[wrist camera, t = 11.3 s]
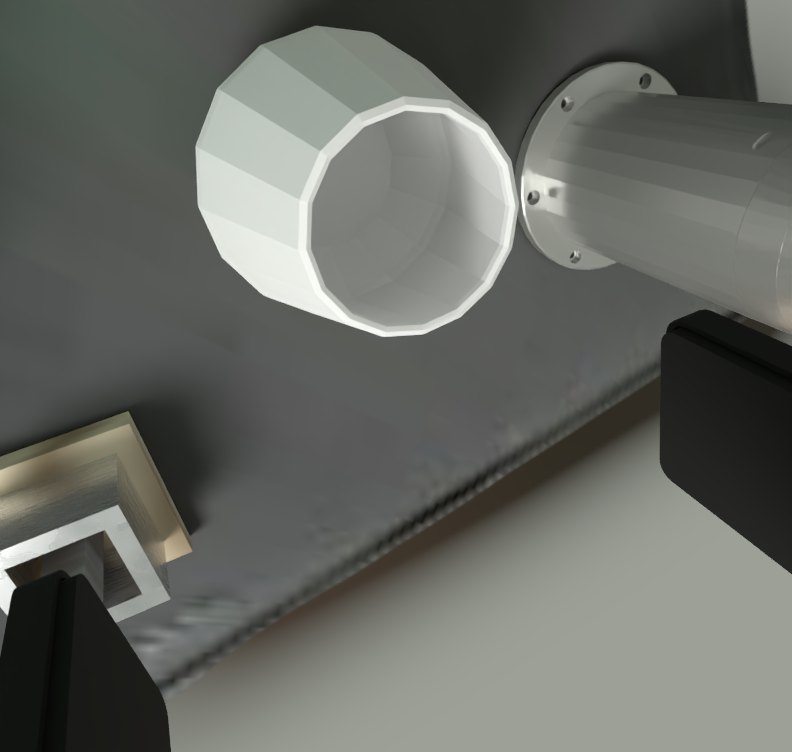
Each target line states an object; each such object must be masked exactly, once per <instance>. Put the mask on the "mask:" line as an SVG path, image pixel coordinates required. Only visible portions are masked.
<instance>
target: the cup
mask: <svg viewBox="0 0 792 752" xmlns="http://www.w3.org/2000/svg"><path fill="white" fill-rule="evenodd" d="M196 169H197V194H198V207H199V209H200V211H201V214H202V216H203V218H204V220H205V222H206V224H207V227H208V229H209V231H210V233H211V235H212V237H213V240H214V242H215V244H216V246H217V248H218V250H219V253H220V255H221V257H222V258H223V259H224V260H225V261H226V262H227V263H228V264H230V265H231V266H232V267H233V268H234V269H235V270H236V271H237V272H238V273H239V274H240V275H241V276H243V277H244V278H245V279H246V280H247V281H248V282H249V283H250V284H251V285H252V286H253V287H254V288H256V289H257V290H258V291H259V292H260V293H261V294H263V295H264V296H266V297H269V298H272V299H274V300H277V301H280V302H283V303H286V304H288V305H291V306H294V307H297V308H299V309H302V310H305V311H308V312H311V313H314V314H317V315H319V316H322V317H325V318H328V319H331V320H334V321H337V322H340V323H343V324H346V325H349V326H352V327H355V328H358V329H361V330H364V331H367V332H370V333H373V334H376V335H379V336H382V337H389V336H405V335H420V334H425V333H427V332H429V331H432V330H434V329H436V328H438V327H440V326H442V325H444V324H447V323H449V322H451V321H453V320H455V319H457V318H459V317H461V316H462V315H463V314H464V313H465V312H466V311H467V310H468V309H469V308H470V307H471V306H473V305H474V304H475V303H476V302H477V301H478V300H479V299H480V298H481V297H482V296H483V295H484V294H485V293H486V292H487V291H488V290H489V289H490V288H491V287H492V285H493V283H494V281H495V279H496V277H497V276H498V274H499V272H500V270H501V268H502V266H503V264H504V262H505V260H506V258H507V256H508V255H509V253H510V251H511V249H512V244H513V238H514V232H515V226H516V220H517V214H518V208H519V201H518V195H517V190H516V184H515V179H514V173H513V168H512V163H511V159H510V158H509V156H508V155H507V153H506V152H505V150H504V149H503V147H502V146H501V144H500V142H499V141H498V139H497V138H496V136H495V135H494V133H493V132H492V130H491V128H490V127H489V125H488V124H487V123H486V122H485V121H484V120H483V119H482V118H481V117H480V116H479V115H478V114H476V113H475V112H474V111H473V110H472V109H471V108H470V107H469V106H468V105H467V104H466V103H465V102H463V101H462V100H461V99H460V98H459V97H458V96H457V95H456V94H455V93H454V92H453V91H452V90H450V89H449V88H448V87H447V86H446V85H445V84H444V83H443V82H442V81H441V80H440V79H438V78H437V77H436V76H435V75H434V74H433V73H432V72H431V71H430V70H429V69H428V68H427V67H425V66H424V65H423V64H422V63H420V62H419V61H417V60H416V59H414V58H412V57H411V56H409V55H408V54H406V53H405V52H403V51H401V50H400V49H398V48H397V47H395V46H394V45H392V44H391V43H389V42H387V41H386V40H384V39H383V38H381V37H380V36H378V35H376V34H374V33H372V32H364V31H356V30H347V29H339V28H331V27H323V26H313V27H310V28H307V29H304V30H302V31H299V32H296V33H293V34H290V35H288V36H285V37H282V38H279V39H276V40H273V41H271V42H268V43H265V44H262V45H260V46H259V47H258V48H257V49H256V50H255V51H254V52H253V53H252V54H251V55H250V56H249V57H248V58H247V59H246V60H245V61H244V62H243V63H242V64H241V65H240V66H239V67H238V68H237V69H236V70H235V71H234V72H233V73H232V74H231V75H230V76H229V77H228V78H227V79H226V80H225V81H224V82H223V83H222V84H221V85H220V86H219V87H218V88H217V91H216V93H215V96H214V99H213V101H212V104H211V106H210V109H209V112H208V114H207V117H206V120H205V122H204V125H203V128H202V130H201V133H200V136H199V138H198V141H197V144H196Z"/></svg>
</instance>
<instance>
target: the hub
mask: <svg viewBox="0 0 792 752" xmlns="http://www.w3.org/2000/svg"><path fill="white" fill-rule="evenodd" d="M103 530H105V531H106V533H107V534H108V536H109V538H110V539H111V541H112V543H113V545H114V546H113V547H111V548H108V549H106V550H104V563H103V604H104V606H105V607H106V609H107V610H108V612H109V613H110V615H111V616H112V618H113V619H114V621H115V623H116V622H119V621H121V620H123V619H126V618H128V617H130V616H133V615H135V614H137V613H140V612H142V611H144V610H146V609H149V608H151V607H153V606H156V605H158V604H160V603H163V602H165V601H167V600H170V590H169V581H168V573H167V564H166V555H165V546H164V541H163V539H162V537H161V535H160V533H159V531H158V529H157V528H156V526H155V524H154V522H153V520H152V518H151V516H150V514H149V512H148V511H147V509H146V507H145V505H144V503H143V501H142V499H141V497H140V495H139V493H138V492H137V490H136V488H135V486H134V484H133V482H132V480H131V478H130V476H129V475H128V473H127V471H126V469H125V467H124V465H123V463H122V461H121V459H120V458H119V456H118V454H117V453H114V454H111V455H109V456H106V457H103V458H101V459H98V460H95V461H93V462H90V463H87V464H85V465H82V466H79V467H77V468H74V469H71V470H68V471H66V472H63V473H60V474H58V475H55V476H52V477H50V478H47V479H44V480H42V481H39V482H36V483H34V484H31V485H28V486H25V487H23V488H20V489H17V490H15V491H12V492H9V493H7V494H4V495H1V496H0V607H1V608H2V609H3V611H4V612H5V613H6V614H7V616H8V612H9V607H10V601H11V596H12V593H13V590H14V589H15V588H17V587H18V586H21V585H23V584H26V583H28V582H31V581H33V580H36V574H37V567H38V559H39V556H40V555H43V554H46V553H48V552H51V551H53V550H56V549H58V548H61V547H63V546H66V545H68V544H71V543H73V542H76V541H78V540H81V539H83V538H86V537H88V536H91V535H93V534H96V533H98V532H101V531H103Z"/></svg>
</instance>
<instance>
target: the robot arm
mask: <svg viewBox="0 0 792 752" xmlns="http://www.w3.org/2000/svg"><path fill="white" fill-rule="evenodd" d="M515 184H516V190H517V195H518V201H519V208H518V218H519V221H520V224H521V226H522V228H523V230H524V232H525V235H526V236H527V238H528V239H529V240H530V242H531V243H532V244H533V246H534V247H535V248H536V249H537V250H538V251H539V252H540V253H542V254H543V255H544V256H545V257H546V258H548V259H550V260H552V261H554V262H556V263H558V264H560V265H563V266H565V267H568V268H571V269H580V270H592V269H598V268H604V267H606V266H609V265H612V264H615V263H617V262H619V263H621V264H623V265H626V266H628V267H631V268H633V269H635V270H638V271H640V272H642V273H645V274H647V275H650V276H652V277H654V278H657V279H659V280H661V281H664V282H666V283H669V284H671V285H673V286H676V287H678V288H680V289H683V290H685V291H688V292H690V293H692V294H695V295H697V296H699V297H702V298H704V299H706V300H709V301H711V302H714V303H716V304H718V305H721V306H723V307H725V308H728V309H730V310H733V311H735V312H737V313H740V314H742V315H745V316H747V317H749V318H752V319H754V320H757V321H759V322H762V323H765V324H767V325H769V326H772V327H774V328H776V329H779V330H782V331H784V332H787V333H790V334H792V105H789V104H777V103H765V102H753V101H742V100H730V99H718V98H706V97H694V96H682V95H677V92H676V91H675V89H674V88H673V87H672V86H671V84H670V83H669V82H668V81H667V79H666V78H665V77H663V76H662V75H661V74H659V73H658V72H657V71H655V70H654V69H652V68H650V67H647V66H644V65H642V64H639V63H631V62H604V63H600V64H597V65H593V66H590V67H587V68H585V69H583V70H582V71H580V72H578V73H576V74H574V75H572V76H571V77H569V78H568V79H567V80H566V81H564V82H563V83H562V84H561V85H560V86H558V87H557V88H556V89H555V90H554V91H553V92H552V93H551V95H550V96H549V97H548V98H547V99H546V100H545V101H544V103H543V104H542V105H541V107H540V108H539V110H538V111H537V113H536V115H535V116H534V118H533V119H532V121H531V123H530V125H529V127H528V129H527V132H526V134H525V136H524V139H523V141H522V143H521V147H520V151H519V155H518V158H517V162H516V170H515ZM660 396H661V397H660V398H661V399H660V464H661V467H662V469H663V471H664V473H665V474H666V476H667V477H668V478H669V479H670V480H671V481H672V482H673V483H675V484H676V485H677V486H679V487H680V488H681V489H683V490H684V491H685V492H686V493H688V494H689V495H690V496H691V497H693V498H694V499H696V500H697V501H698V502H699V503H700V504H702V505H703V506H704V507H706V508H707V509H708V510H710V511H711V512H712V513H713V514H715V515H716V516H717V517H719V518H720V519H721V520H723V521H724V522H725V523H726V524H728V525H729V526H730V527H731V528H733V529H734V530H735V531H737V532H738V533H739V534H741V535H742V536H743V537H745V538H746V539H747V540H748V541H750V542H751V543H752V544H753V545H755V546H756V547H758V548H759V549H760V550H761V551H763V552H764V553H765V554H766V555H768V556H769V557H770V558H772V559H773V560H774V561H775V562H777V563H778V564H779V565H781V566H782V567H783V568H785V569H786V570H787V571H788V572H790V573H791V574H792V346H790V345H788V344H786V343H783V342H781V341H779V340H776V339H774V338H772V337H770V336H767V335H765V334H763V333H761V332H758V331H756V330H754V329H751V328H749V327H747V326H744V325H742V324H740V323H738V322H735V321H733V320H731V319H729V318H726V317H724V316H722V315H720V314H717V313H715V312H713V311H710V310H706V309H705V310H699V311H697V312H694V313H692V314H689V315H687V316H684V317H682V318H679V319H677V320H675V321H673V322H671V323H670V324H669V326H668V328H667V331H666V334H665V335H664V336H663V338H662V341H661V395H660ZM0 752H171V747H170V735H169V725H168V715H167V710H166V706H165V702H164V699H163V697H162V694H161V693H160V691H159V689H158V687H157V686H156V684H155V683H154V681H153V680H152V678H151V677H150V675H149V673H148V672H147V670H146V669H145V667H144V666H143V664H142V663H141V661H140V660H139V658H138V656H137V655H136V653H135V652H134V650H133V649H132V647H131V646H130V644H129V643H128V641H127V640H126V638H125V636H124V635H123V633H122V632H121V630H120V629H119V627H118V626H117V624H116V623H115V621H114V619H113V618H112V616H111V615H110V613H109V612H108V610H107V609H106V607H105V606H104V604H103V602H102V601H101V599H100V598H99V596H98V595H97V593H96V592H95V590H94V589H93V587H92V585H91V584H90V582H89V581H88V579H87V578H86V577H85V576H84V575H83V574H77V575H75V576H72V577H70V576H69V575H68V574H67V573H66V572H65V571H63V570H58V571H55V572H53V573H50V574H48V575H46V576H43V577H41V578H38V579H36V580H33V581H31V582H28V583H26V584H23V585H21V586H18V587H17V588H15V589H14V590H13V593H12V596H11V601H10V607H9V612H8V618H7V623H6V629H5V634H4V640H3V645H2V650H1V656H0Z"/></svg>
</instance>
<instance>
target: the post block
mask: <svg viewBox="0 0 792 752" xmlns="http://www.w3.org/2000/svg"><path fill="white" fill-rule="evenodd" d="M114 453H117V454H118V456H119V458H120V459H121V461H122V463H123V465H124V467H125V469H126V471H127V473H128V475H129V476H130V478H131V480H132V482H133V484H134V486H135V488H136V490H137V492H138V493H139V495H140V497H141V499H142V501H143V503H144V505H145V507H146V509H147V511H148V512H149V514H150V516H151V518H152V520H153V522H154V524H155V526H156V528H157V529H158V531H159V533H160V535H161V537H162V539H163V541H164V546H165V555H166V562H168V561H171V560H173V559H175V558H178V557H180V556H183V555H185V554H187V553H190V552H192V545H191V539H190V535H189V533H188V531H187V529H186V527H185V525H184V523H183V521H182V519H181V517H180V515H179V513H178V511H177V509H176V507H175V505H174V503H173V501H172V499H171V497H170V495H169V493H168V491H167V488H166V486H165V484H164V482H163V480H162V478H161V476H160V474H159V472H158V470H157V468H156V466H155V464H154V462H153V460H152V458H151V456H150V454H149V452H148V450H147V448H146V446H145V444H144V442H143V440H142V438H141V436H140V434H139V432H138V430H137V427H136V425H135V423H134V421H133V419H132V417H131V415H130V413H129V411H127V412H124V413H121V414H119V415H116V416H113V417H110V418H107V419H105V420H102V421H99V422H96V423H93V424H90V425H88V426H85V427H82V428H79V429H76V430H74V431H71V432H68V433H65V434H62V435H60V436H57V437H54V438H51V439H48V440H46V441H43V442H40V443H37V444H34V445H31V446H29V447H26V448H23V449H20V450H17V451H15V452H12V453H9V454H6V455H3V456H1V457H0V496H1V495H4V494H7V493H9V492H12V491H15V490H17V489H20V488H23V487H25V486H28V485H31V484H34V483H36V482H39V481H42V480H44V479H47V478H50V477H52V476H55V475H58V474H60V473H63V472H66V471H68V470H71V469H74V468H77V467H79V466H82V465H85V464H87V463H90V462H93V461H95V460H98V459H101V458H103V457H106V456H109V455H111V454H114ZM113 546H114V545H113V543H112V541H111V539H110V538H109V536H108V534H107V533H106V531H105V530H103V531H101V532H98V533H96V534H93V535H91V536H88V537H86V538H83V539H81V540H78V541H76V542H73V543H71V544H68V545H66V546H63V547H61V548H58V549H56V550H53V551H51V552H48V553H46V554H43V555H40V556H39V559H38V567H37V574H36V579H38V578H41V577H43V576H46V575H48V574H50V573H53V572H55V571H58V570H63V571H65V572H66V573H67V574H68V575H69V576H70V577H72V576H75V575H77V574H83V575H84V576H85V577H86V578H87V579H88V581H89V582H90V584H91V585H92V587H93V589H94V590H95V592H96V593H97V595H98V596H99V598H100V599H101V601H102V602H103V563H104V550H106V549H108V548H111V547H113Z"/></svg>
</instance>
